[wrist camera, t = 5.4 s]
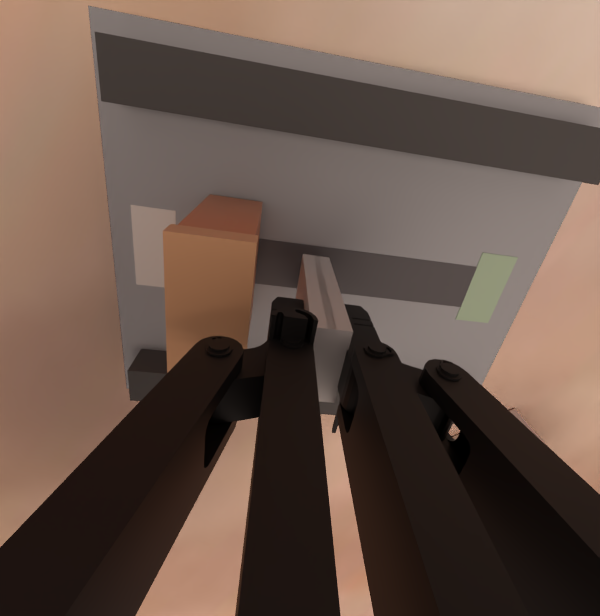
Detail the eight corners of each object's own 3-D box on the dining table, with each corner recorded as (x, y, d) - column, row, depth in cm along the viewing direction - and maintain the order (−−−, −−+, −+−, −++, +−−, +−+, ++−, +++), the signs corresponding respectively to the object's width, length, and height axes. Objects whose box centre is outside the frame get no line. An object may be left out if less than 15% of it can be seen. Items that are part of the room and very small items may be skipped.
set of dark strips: (143, 376, 20) (130, 400, 18) (119, 44, 13) (94, 31, 11) (458, 401, 23) (474, 424, 21) (585, 132, 15) (625, 132, 14)
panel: (138, 367, 22) (126, 389, 21) (111, 21, 14) (87, 5, 12) (453, 393, 25) (467, 414, 23) (581, 112, 17) (618, 110, 15)
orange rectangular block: (204, 311, 18) (168, 401, 12) (207, 191, 16) (162, 230, 9) (253, 316, 19) (241, 406, 13) (265, 200, 16) (256, 243, 10)
